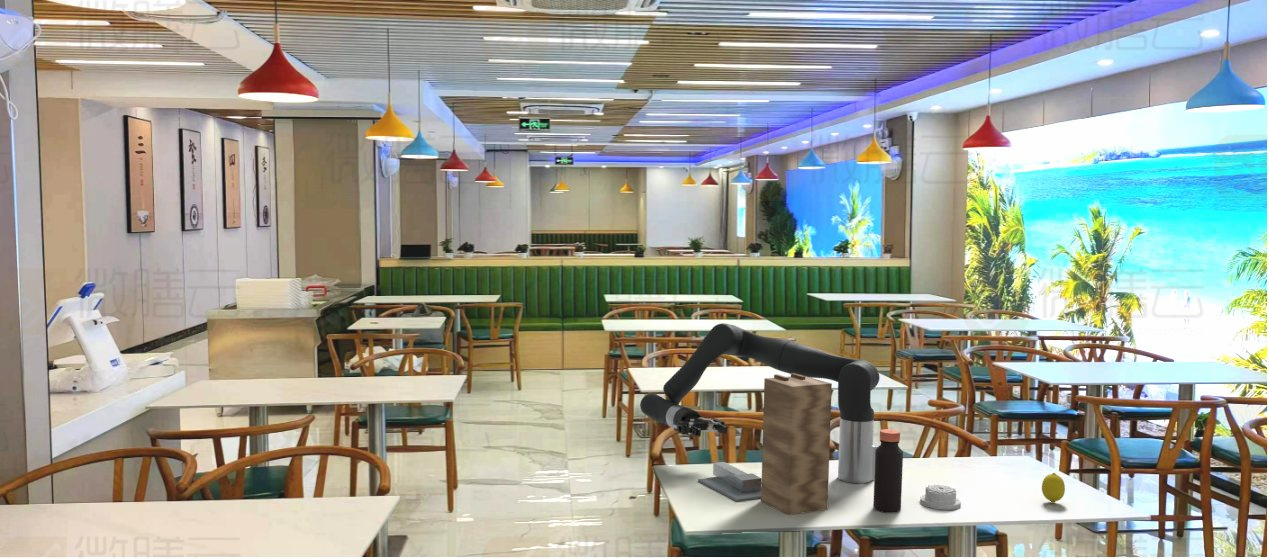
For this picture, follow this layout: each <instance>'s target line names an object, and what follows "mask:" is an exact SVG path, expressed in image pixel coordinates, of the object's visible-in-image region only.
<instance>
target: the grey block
mask: <svg viewBox="0 0 1269 559" xmlns="http://www.w3.org/2000/svg"><path fill="white" fill-rule="evenodd" d="M712 464H713V465H712V475H713V477H718V478H720V479H722V480H723V481H725V482H727V483H729V484H731V485H733V488H734V489H735V490H737V491H739V492H741V493H747V492H756V491H761V483H762V477H760V476H758V475H756V474H754V473H752V472H751V473H747V472H745V471H744V470H741V469H739V468H738V467H735V466H733V465H731V464H729V463H727V462H725V461H718V462H713V463H712Z"/></svg>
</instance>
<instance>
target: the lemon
mask: <svg viewBox="0 0 1269 559" xmlns="http://www.w3.org/2000/svg"><path fill="white" fill-rule="evenodd" d="M1041 483H1042V484H1041V492H1042V495H1043V496H1044V498H1045V499H1046V500H1048V501H1051V502H1054V503H1056V502H1059V501H1060V500H1061V499H1063V497H1064V495H1065V492H1066V487H1065V486H1066V485H1065V482H1064V479H1063V478H1062V476H1060V475H1058V474H1057V473H1056V472H1052V473H1049V474H1048V475H1046V476H1045V477H1044V478H1043V480H1042V482H1041ZM1051 502H1050V503H1051Z"/></svg>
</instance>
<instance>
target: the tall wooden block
mask: <svg viewBox="0 0 1269 559" xmlns="http://www.w3.org/2000/svg"><path fill="white" fill-rule="evenodd" d="M763 382H764V383H763V384H764V386H763V417H762V418H763V419H762V449H761V450H762V452H761V453H762V454H761V499H760V501H762V502H761V503H763V502H764V504H765V503H766V504H765V505H767V504H768V506H769V505H770V507H771V506H772V508H773V507H774V509H775V508H776V509H775V510H777V509H778V511H779V510H780V511H779V512H781V513H783V512H784V513H783V514H785V513H786V515H787V516H789V515H790V516H791V515H797V514H802V512H805V513H811V512H817V510H818V511H823V510H828V506H829V505H828V503H829V501H828V500H829V478H830V477H829V474H830V449H831V448H830V445H831V442H830V441H831V419H832V417H831V416H832V414H831V412H832V385H833V384H832V383H831V382H828V381H824V380H822V379H821V380H820V379H818V378H811V377H806V376H802V375H799V374H795V373H791V374H790V376H784V375H781V374H773V377H767V378H764V380H763ZM810 511H811V512H810Z"/></svg>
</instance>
